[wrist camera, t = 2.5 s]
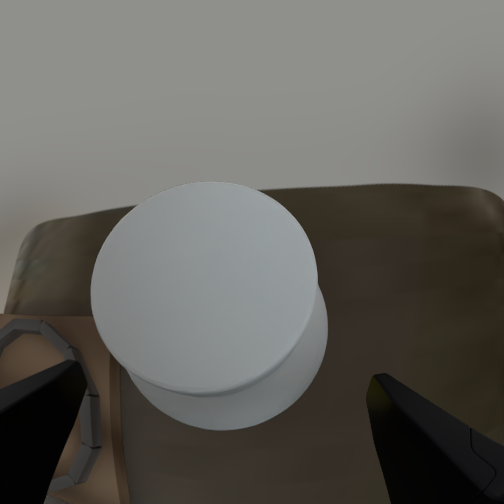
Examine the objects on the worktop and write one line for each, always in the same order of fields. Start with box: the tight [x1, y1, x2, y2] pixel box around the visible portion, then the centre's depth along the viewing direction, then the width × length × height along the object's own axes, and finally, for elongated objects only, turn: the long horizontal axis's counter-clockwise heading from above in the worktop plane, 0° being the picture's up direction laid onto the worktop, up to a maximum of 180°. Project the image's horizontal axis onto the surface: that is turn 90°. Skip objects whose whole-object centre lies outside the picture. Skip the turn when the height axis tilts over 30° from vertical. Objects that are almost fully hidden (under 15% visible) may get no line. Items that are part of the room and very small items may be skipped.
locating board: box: [0, 314, 131, 504], centre depth 13 cm, size 14×14×3 cm
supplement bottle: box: [91, 181, 328, 430], centre depth 11 cm, size 7×7×13 cm
